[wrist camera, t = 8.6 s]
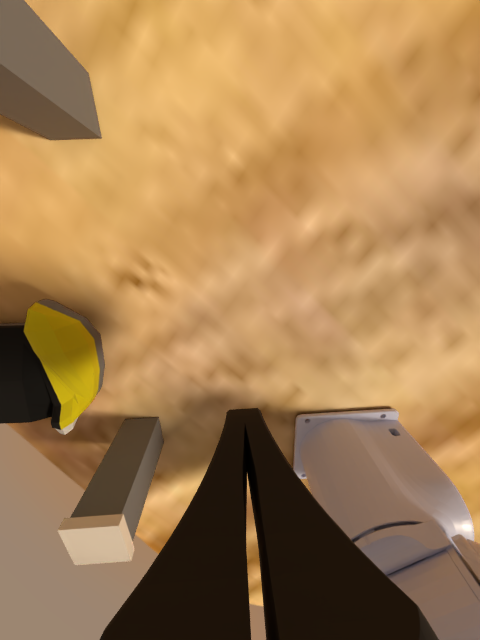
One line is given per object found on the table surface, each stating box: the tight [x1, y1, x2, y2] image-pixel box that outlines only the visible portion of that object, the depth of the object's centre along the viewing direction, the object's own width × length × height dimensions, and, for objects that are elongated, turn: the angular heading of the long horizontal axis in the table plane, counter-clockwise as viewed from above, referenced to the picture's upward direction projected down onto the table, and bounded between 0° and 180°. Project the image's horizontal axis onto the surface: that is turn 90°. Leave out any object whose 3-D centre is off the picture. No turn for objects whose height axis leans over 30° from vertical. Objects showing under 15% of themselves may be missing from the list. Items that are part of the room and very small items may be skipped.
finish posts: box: [0, 0, 164, 565], centre depth 14 cm, size 3×27×9 cm, turn 2°
